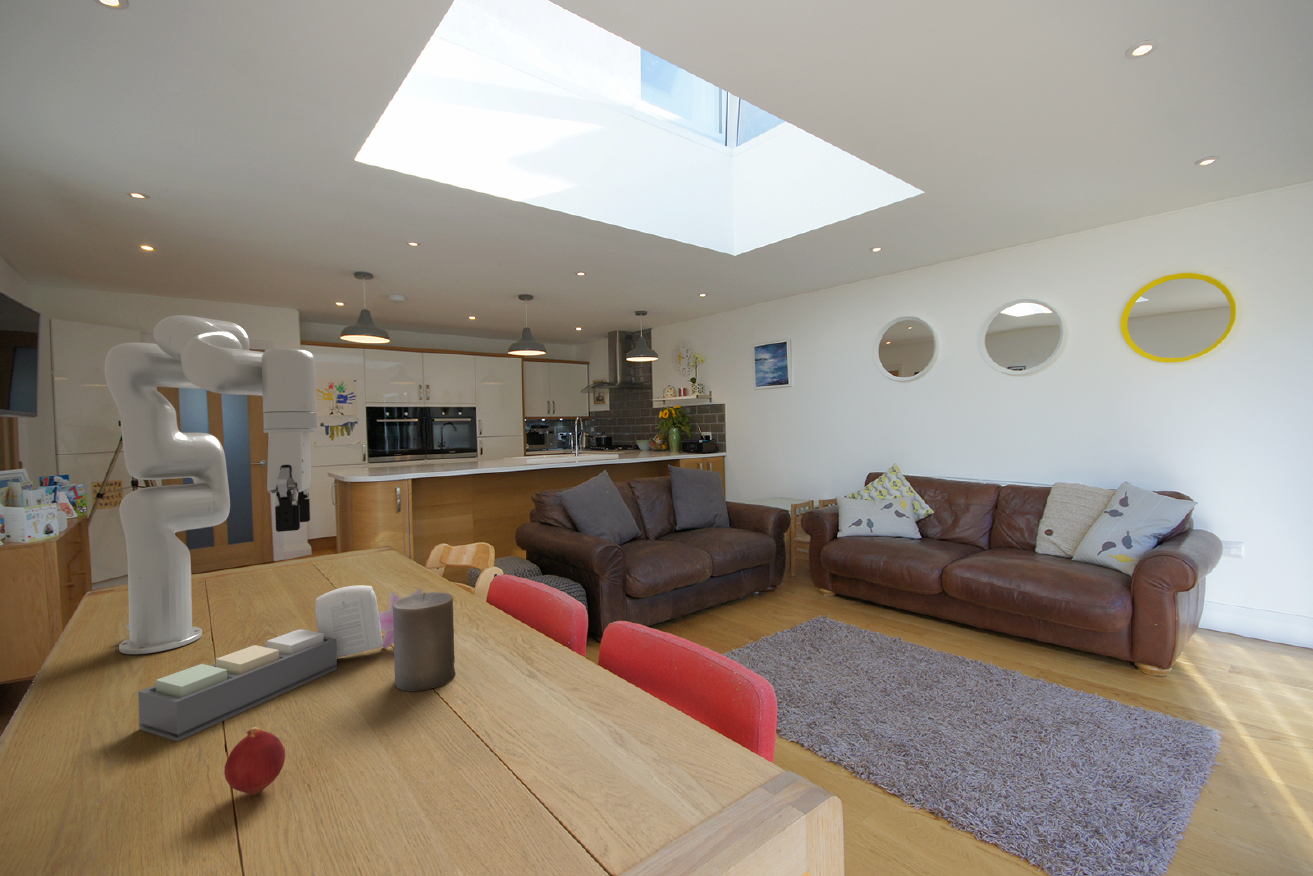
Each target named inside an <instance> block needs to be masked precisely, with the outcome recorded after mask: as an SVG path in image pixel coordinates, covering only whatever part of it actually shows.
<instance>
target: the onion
mask: <svg viewBox="0 0 1313 876" xmlns="http://www.w3.org/2000/svg"><path fill="white" fill-rule="evenodd" d="M246 734H247V735H246V736H244V737H243V738H242V739H241V740H240V741H239V742H238V743H237V744H236V745H235V746H234V747H233V748H232V749H231V751H230V753H229V755H228V757H227V759H226V761H225V764H224V771H223V774H224V777H225V781H226V782H227V784H228V785H229V786H230V787H231V789H233V790H236V791H238V792H241V793H244V794H248V795H250V796H257V795H259V794H261V793H262V792H263V791H264V790H265V789H267V787H269V785H271V784H272V783H273V782H274V781H275V780H276V779H277V777H278V776H279V775H280V773H281V771H282V769H283V767H284V764H285V760H286V751H285V750H286V749H285V747H284V745H283V743H282V741H281V739H280V738H279V737H277V736H276V735H275V734H273V733H271V732H269V731H264V730H262V729H260V728H259V727H258V726H257V727H256V726H255V727H251V728H249V730H248V731H246Z"/></svg>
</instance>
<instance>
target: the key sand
mask: <svg viewBox="0 0 1313 876" xmlns="http://www.w3.org/2000/svg"><path fill="white" fill-rule="evenodd" d="M276 660H279V650H277V649H272V648H267V647H263V646H261V645H256V644H254V645H253V644H252V645H251V646H248V647H245V648H242V649H240V650H237V651H234V652H231V653H229V654H225V655H223V656H220V657H216V658H215V664H216V667H218V668H222V669H226V670H227V672H231V673H235V674H239V675H241V674H243V673H246V672H248V671H251V670H254V669H256V668H259V667H261V666H264V665H266V664H269V663H271V662H274V661H276Z"/></svg>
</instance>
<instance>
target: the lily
mask: <svg viewBox="0 0 1313 876" xmlns="http://www.w3.org/2000/svg"><path fill="white" fill-rule="evenodd" d="M420 593H423V588H418V589H417V590H415V591H413V592H412V593H410V594H409V595H408V596H410V595H415V594H420ZM400 599H401V597H399V596H398V594H396V593H395V592H394V591H391V593H390V595H389V603H388V607H389V609H387V610H383V611H380V612H379V619H380V625H381V632H382V631H383V632H385V633H384V635H383V638H382V639H383V645H382V646H381V648H382V647H383V648H386V649H387V648H389V647H390V646H391V645H394V621H393V604H394V602H396V601H397V600H400Z"/></svg>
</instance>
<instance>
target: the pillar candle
mask: <svg viewBox="0 0 1313 876" xmlns="http://www.w3.org/2000/svg"><path fill="white" fill-rule="evenodd" d="M409 595H410V594H409ZM409 595H408V596H404V597H400V600H397V601H396V602H394V604H393V621H394V643H393V659H394V683H395V686H396V689H397V688H398V689H399V690H401V691H405V692H416V691H417V692H419V691H425V690H430V689H433V688H438V687H441V686H444V685H446V684H447V683H449V682H451V681H452V680H453V679H454V678H455V675H456V670H455V661H456V660H455V659H456V657H455V656H456V655H455V631H454V630H455V628H454V627H455V626H454V596H453V594H450V593H447V592H439V591H437V592H436V591H434V592H422V593H420V594H415V595H410V596H409Z"/></svg>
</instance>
